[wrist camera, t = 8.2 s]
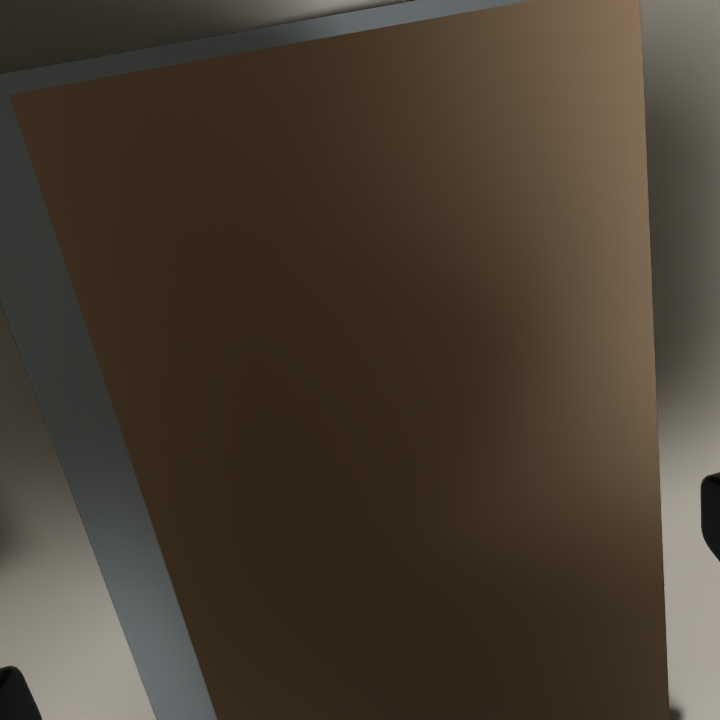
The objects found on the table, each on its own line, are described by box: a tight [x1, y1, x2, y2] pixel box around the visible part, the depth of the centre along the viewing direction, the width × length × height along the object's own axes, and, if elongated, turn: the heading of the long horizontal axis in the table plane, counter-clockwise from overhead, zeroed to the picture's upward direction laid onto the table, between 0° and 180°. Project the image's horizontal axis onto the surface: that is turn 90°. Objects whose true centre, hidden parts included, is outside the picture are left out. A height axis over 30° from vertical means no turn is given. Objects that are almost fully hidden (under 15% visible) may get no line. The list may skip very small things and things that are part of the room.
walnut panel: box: [9, 0, 669, 720], centre depth 8 cm, size 3×12×6 cm, turn 10°
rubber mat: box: [0, 0, 532, 720], centre depth 11 cm, size 8×14×1 cm, turn 11°
